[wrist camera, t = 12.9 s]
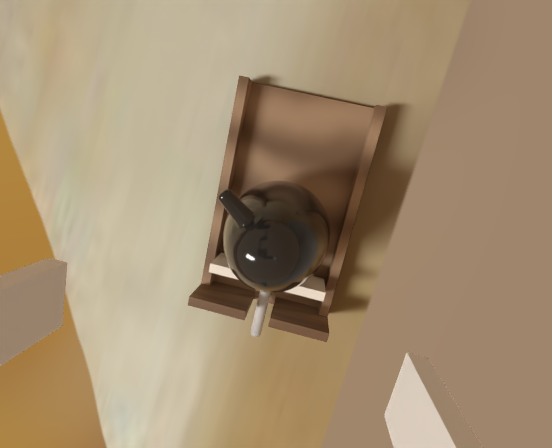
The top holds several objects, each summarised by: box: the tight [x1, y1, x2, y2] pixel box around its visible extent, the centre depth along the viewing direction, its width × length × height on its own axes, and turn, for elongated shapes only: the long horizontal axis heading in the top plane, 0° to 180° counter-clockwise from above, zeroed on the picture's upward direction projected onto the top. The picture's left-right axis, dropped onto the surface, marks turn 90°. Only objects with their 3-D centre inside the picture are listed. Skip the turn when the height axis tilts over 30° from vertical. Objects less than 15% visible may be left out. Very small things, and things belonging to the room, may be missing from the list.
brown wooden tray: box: [188, 76, 387, 342], centre depth 32 cm, size 24×15×6 cm, turn 167°
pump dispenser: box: [218, 180, 330, 293], centre depth 27 cm, size 10×10×15 cm
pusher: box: [209, 253, 326, 337], centre depth 34 cm, size 8×12×4 cm, turn 77°
